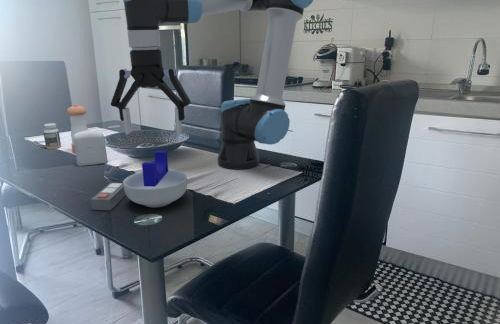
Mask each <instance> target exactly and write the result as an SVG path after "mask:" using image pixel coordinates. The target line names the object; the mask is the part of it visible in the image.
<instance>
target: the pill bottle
mask: <svg viewBox="0 0 500 324" xmlns="http://www.w3.org/2000/svg"><path fill="white" fill-rule="evenodd" d="M57 127H58V126H57V123H53V122H49V123H45V124H43V129H44V130H43V132H42V133H43V138H44V144H45V147H46V149H48V150H53V149H58V148H61V147H62V144H61V143H62V142H61V137H60V136H61V135H60V130H59V129H58V128H57Z"/></svg>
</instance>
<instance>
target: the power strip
mask: <svg viewBox="0 0 500 324" xmlns="http://www.w3.org/2000/svg"><path fill="white" fill-rule="evenodd" d="M126 196H127V195H126V193H125V191H124V186H123V182H122V183H121V182H120V183H117V182H116V183H115V182H114V183H113V182H112V183H111V182H109V183H108V184H107V185H106V186H104V188H102V189H101V190H100V191H98V193H96V194H95V195H94V196H93V197H91V199H90V203H91V210H92V211H112V210H113V209H114V208H115V207H116V206H117V205H118V204H119V203H120V202H121V200H123V199H124V198H125V197H126Z"/></svg>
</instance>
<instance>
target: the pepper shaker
mask: <svg viewBox="0 0 500 324" xmlns="http://www.w3.org/2000/svg"><path fill="white" fill-rule="evenodd" d="M66 113H67V115H69V120H70V127H71V129H70V139H71V144H70V145H71V151H72V154H76V151H75V145H74V135H75V134H76V133H78V132H81V131H87V130H89V129H88V127H87V121H86V116H85V115H86V113H87V109H86V108H85V106H82V105H79V104H78V103H74V104H73V105H72V106H69V107H68V108H67V110H66Z"/></svg>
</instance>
